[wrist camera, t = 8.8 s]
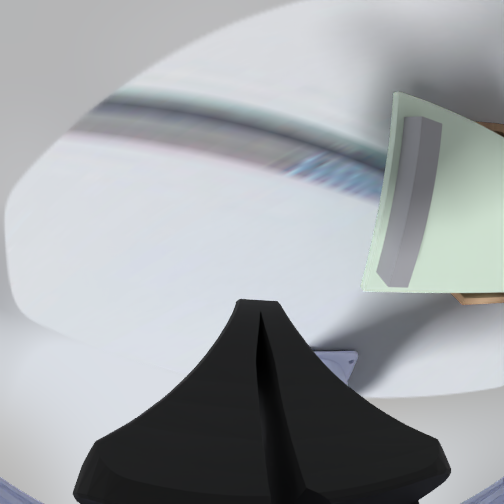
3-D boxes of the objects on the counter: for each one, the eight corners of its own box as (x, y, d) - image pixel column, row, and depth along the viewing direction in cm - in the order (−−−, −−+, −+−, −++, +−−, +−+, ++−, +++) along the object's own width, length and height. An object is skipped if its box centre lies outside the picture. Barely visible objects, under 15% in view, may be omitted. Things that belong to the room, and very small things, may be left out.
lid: (534, 159, 11) (554, 165, 9) (502, 288, 15) (518, 302, 13) (393, 92, 11) (415, 87, 9) (360, 286, 15) (374, 307, 13)
